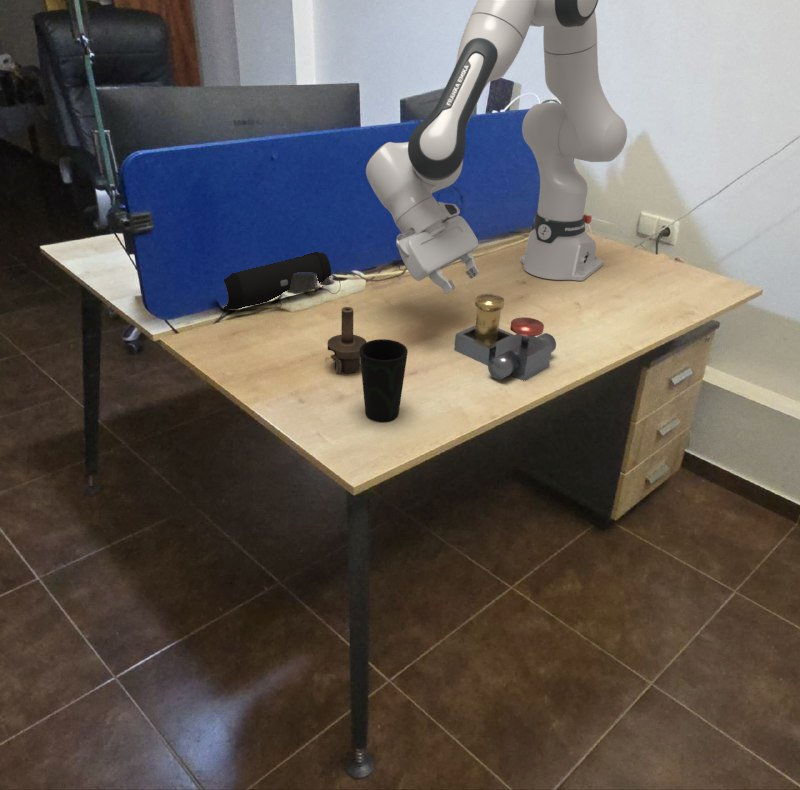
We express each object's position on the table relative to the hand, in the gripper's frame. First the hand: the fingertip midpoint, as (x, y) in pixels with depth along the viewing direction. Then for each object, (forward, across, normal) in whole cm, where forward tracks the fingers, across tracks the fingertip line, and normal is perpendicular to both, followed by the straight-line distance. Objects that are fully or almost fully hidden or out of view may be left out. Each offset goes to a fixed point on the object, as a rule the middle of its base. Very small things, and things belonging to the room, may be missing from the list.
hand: (463, 283), depth 136 cm
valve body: (+16, -1, +2) cm, 16 cm away
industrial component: (+2, -22, +16) cm, 27 cm away
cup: (+11, -31, +6) cm, 34 cm away
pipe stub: (+13, 0, +5) cm, 14 cm away
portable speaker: (-22, -7, +40) cm, 46 cm away
